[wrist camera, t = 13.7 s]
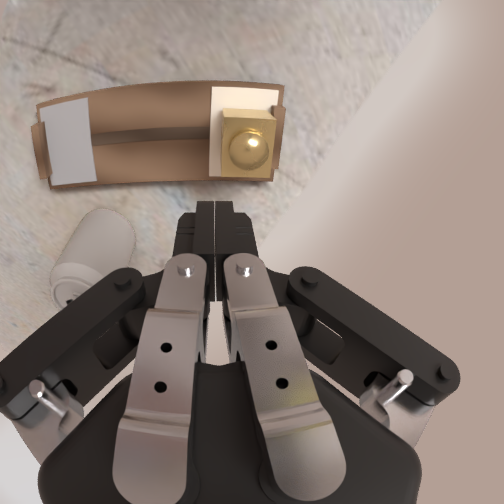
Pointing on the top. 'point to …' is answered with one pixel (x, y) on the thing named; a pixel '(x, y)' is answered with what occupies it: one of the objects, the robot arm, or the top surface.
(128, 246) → the can
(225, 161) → the brass knob
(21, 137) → the top surface
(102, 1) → the top surface
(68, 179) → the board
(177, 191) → the top surface
